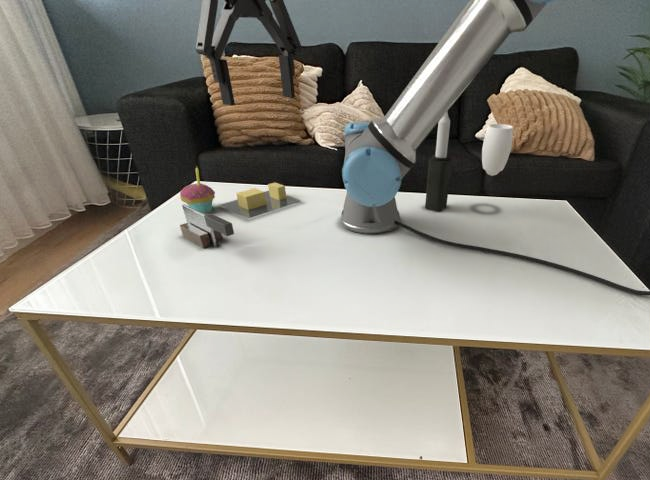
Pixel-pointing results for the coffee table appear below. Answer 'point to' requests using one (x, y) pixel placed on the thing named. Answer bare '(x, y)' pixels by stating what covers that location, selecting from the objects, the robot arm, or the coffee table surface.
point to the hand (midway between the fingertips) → (260, 100)
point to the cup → (496, 147)
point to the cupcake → (198, 196)
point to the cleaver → (208, 223)
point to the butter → (251, 198)
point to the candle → (439, 169)
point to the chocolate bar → (198, 235)
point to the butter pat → (277, 191)
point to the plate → (271, 205)
